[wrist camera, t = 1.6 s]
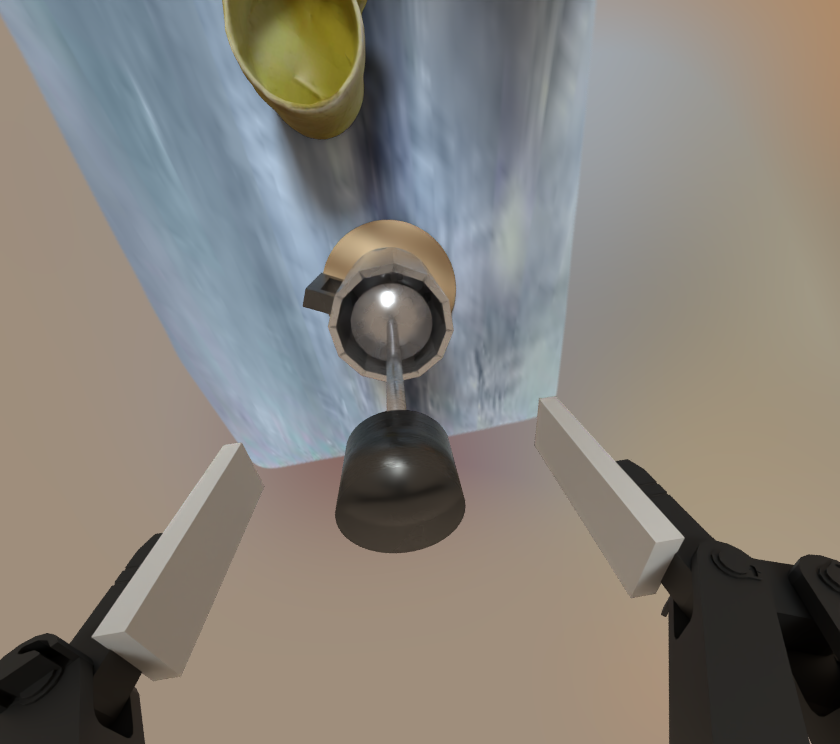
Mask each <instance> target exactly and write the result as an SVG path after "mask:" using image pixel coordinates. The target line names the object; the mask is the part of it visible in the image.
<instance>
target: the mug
mask: <svg viewBox="0 0 840 744" xmlns="http://www.w3.org/2000/svg"><path fill="white" fill-rule="evenodd" d="M366 2H367V0H222V3H223V10H224V19H225V31H226V34H227V38H228V41H229V44H230V46H231V49H232V51H233V53H234V56H235V58H236V59H237V61H238V63H239V65H240V67H241V69H242V71H243V73H244V75H245V76H246V78H247V79H248V80H249V82H250V83H251V84H252V85H253V87H254V89H255V90H256V92H257V93H258V94H259V96H260V97H261V98H262V99H263V100H264V101H265V102H266V103H267V104H268V105H269V106H270V107H272V108H273V109H274V110H275V111H276V112H277V113H278V114H279V116H280V117H281V118H282V119H283V120H284V121H285V122H286V123H287V124H288V125H289V126H290V127H292V128H293V129H294V130H296V131H297V132H299V133H300V134H302V135H304V136H306V137H310V138H314V139H329V138H332V137H335V136H338V135H339V134H341V133H343V132H344V131H345V130H346V129H347V128H349V126H350V125H351V124H352V123H353V121H354V120H355V118H356V117H357V115H358V113H359V110H360V108H361V105H362V101H363V96H364V81H363V74H364V68H365V34H364V25H363V20H362V11H363V9H364V7H365V5H366Z"/></svg>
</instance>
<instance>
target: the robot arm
mask: <svg viewBox="0 0 840 744" xmlns="http://www.w3.org/2000/svg"><path fill="white" fill-rule="evenodd" d="M535 447H536V449H537V450H538V452H539V453H540V455H541V456H542V458H543V459H544V461H545V463H546V464H547V466H548V468H549V469H550V471H551V472H552V474H553V475H554V477H555V479H556V480H557V482H558V483H559V485H560V486H561V488H562V490H563V491H564V493H565V495H566V496H567V498H568V499H569V501H570V502H571V504H572V506H573V507H574V509H575V510H576V512H577V513H578V515H579V517H580V518H581V520H582V521H583V523H584V525H585V526H586V528H587V529H588V531H589V533H590V534H591V536H592V537H593V539H594V541H595V542H596V544H597V545H598V547H599V549H600V550H601V552H602V553H603V555H604V556H605V558H606V560H607V561H608V562H609V564H610V566H611V568H612V569H613V571H614V572H615V574H616V575H617V577H618V579H619V580H620V582H621V583H622V585H623V587H624V588H625V590H626V591H627V593H628V594H629V596H630V598H635V597H640V596H646V595H652V594H656V592H657V590H658V588H659V586H660V584H661V583H662V584H663V586H664V587H665V588H666V590H667V591H668V592H669V594H670V597H669V598H668V600H667V602H666V604H665V605H664V607H663V610H662V613H661V615H663V616H665V617H666V616H667V614H668V612H669V744H810V743H809V739H810V741H811V743H812V744H840V562H838V561H837V560H833V559H830V558H827V557H824V556H821V555H806V556H803V557H801V558H800V559H799V560H798V561H797V562H796V563H795V565H790V564H784V563H777V562H771V561H765V560H758V559H753V558H751V557H749V556H748V555H747V554H746V553H744V552H743V551H741V550H739V549H738V548H736V547H733V546H731V545H729V544H727V543H723V542H719V541H716V540H715V539H714V538H712V537H711V536H710V535H709V534H708V533H707V532H706V531H705V530H704V529H703V528H702V527H701V526H700V525H699V524H698V523H697V522H696V521H695V520H694V519H693V518H692V517H691V516H690V515H689V514H688V513H687V512H686V511H685V510H684V509H683V508H682V507H681V506H680V505H679V504H678V503H677V502H676V501H675V500H674V499H673V498H672V497H671V496H670V495H668V494H667V492H666V491H665V490H664V489H663V488H662V487H661V486H660V485H659V484H657V483H656V481H655V480H654V479H653V478H652V477H651V476H650V475H649V474H648V473H647V472H646V471H645V470H644V469H643V468H641V467H639V466H638V465H636V464H635V463H633V462H631V461H630V460H628V459H627V460H620V461H614V459H612V457H611V456H610V455H609V454H608V453H607V452H606V451H605V450H604V449H603V447H602V446H601V445H600V444H599V443H598V442H597V441H596V440H595V439H594V438H593V437H592V435H591V434H590V433H589V432H588V431H587V430H586V429H585V428H584V427H583V425H582V424H581V423H580V422H579V421H578V420H577V419H576V418H575V417H574V416H573V415H572V413H571V412H570V411H569V410H568V409H567V408H566V407H565V406H564V405H563V404H562V402H561V401H560V400H559V399H558V398H557V397H556V396H554V397H547V398H540V399H539V405H538V415H537V425H536V434H535ZM263 488H264V485H263V483H262V481H261V479H260V477H259V475H258V473H257V471H256V469H255V467H254V465H253V463H252V461H251V459H250V458H249V456H248V454H247V452H246V450H245V448H244V446H243V444H242V443H235V444H228V445H223V447H222V449H221V450H220V451H219V453H218V454H217V456H216V457H215V458H214V460H213V462H212V463H211V464H210V466H209V467H208V469H207V470H206V472H205V473H204V474H203V476H202V477H201V479H200V480H199V482H198V483H197V485H196V486H195V487H194V489H193V490H192V492H191V493H190V495H189V496H188V498H187V499H186V501H185V502H184V503H183V505H182V506H181V508H180V509H179V511H178V512H177V514H176V515H175V517H174V518H173V520H172V521H171V522H170V524H169V525H168V527H167V528H166V530H165V531H164V533H159V534H155V535H154V536H153V537H151V538H150V539H149V540H148V541H147V542H146V543H145V544H144V545H143V546H142V547H141V548H140V549H139V550H138V551H137V552H136V553H135V555H134V556H133V558H132V559H131V560H130V562H129V563H128V564H127V566H126V569H125V571H122V573H121V574H120V575H119V577H118V578H117V580H116V581H115V585H114V586H111V588H110V589H109V591H108V592H107V593H106V595H105V596H104V597H103V599H102V600H101V601H100V603H99V604H98V606H97V607H96V608H95V610H94V611H93V613H92V614H91V615H90V617H89V618H88V619H87V621H86V622H85V623H84V625H83V626H82V628H81V629H80V630H79V632H78V633H77V635H76V636H75V637H74V639H73V640H72V641H71V643H70V644H68V643H66V642H65V641H64V640H62V639H60V638H59V637H57V636H56V635H53V634H49V633H46V634H43V635H39V636H35V637H33V638H32V639H30V640H28V641H26V642H24V643H22V644H21V645H19V646H18V647H16V648H15V649H14V650H12V651H11V652H10V653H8V654H7V655H5V656H4V657H3V658H2V659H1V660H0V744H145V740H144V732H143V724H142V715H141V706H140V698H139V693H138V691H137V689H136V688H135V684H136V683H137V681H138V679H139V677H140V675H141V673H143V674H144V675H145V676H147V677H148V678H150V679H151V680H152V681H157V680H162V679H168V678H174V677H180V676H181V675H182V673H183V671H184V668H185V666H186V663H187V662H188V659H189V657H190V655H191V652H192V650H193V648H194V646H195V643H196V641H197V639H198V637H199V634H200V632H201V630H202V627H203V625H204V623H205V621H206V618H207V616H208V614H209V611H210V609H211V607H212V605H213V602H214V600H215V598H216V596H217V593H218V591H219V589H220V586H221V584H222V582H223V580H224V577H225V575H226V573H227V571H228V568H229V566H230V564H231V561H232V559H233V557H234V555H235V552H236V550H237V548H238V546H239V543H240V541H241V538H242V536H243V534H244V532H245V529H246V527H247V525H248V523H249V521H250V518H251V516H252V514H253V511H254V509H255V507H256V505H257V502H258V500H259V498H260V495H261V493H262V491H263ZM808 737H809V739H808Z"/></svg>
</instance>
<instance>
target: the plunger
mask: <svg viewBox="0 0 840 744" xmlns="http://www.w3.org/2000/svg"><path fill="white" fill-rule="evenodd" d="M351 329H352V333H353V335H354V338H355V340H356V342H357V343H358V344H359V346H360V347H361V348H362V349H363V350H364V351H365V352H366V353H368V354H369V355H371V356H373V357H375V358H378V359H381V360H385V361H387V411H385V412H382V413H378V414H376V415H373V416H371V417H369V418H367V419H366V420H364V421H363V422H362V423H360V424H359V425H358V426H357V427H356V428H355V429H354V430H353V432H352V433H351V435H350V437H349V439H348V441H347V445H346V451H345V457H344V464H343V469H342V475H341V482H340V487H339V494H338V499H337V505H336V511H335V518H336V523H337V525H338V528H339V529H340V531H341V532H342V533H343V535H344V536H345V537H346V538H347V539H349V540H350V541H351V542H353V543H355V544H356V545H358V546H360V547H362V548H365V549H368V550H372V551H376V552H383V553H405V552H411V551H416V550H420V549H423V548H426V547H429V546H432V545H434V544H436V543H438V542H440V541H441V540H443V539H445V538H446V537H447V536H449V535H450V534H451V533H452V532H453V531H454V530H455V529H456V528H457V527H458V525H459V524H460V522H461V520H462V518H463V516H464V513H465V499H464V495H463V492H462V488H461V484H460V481H459V477H458V473H457V469H456V466H455V462H454V458H453V454H452V451H451V448H450V443H449V440H448V436H447V434H446V432H445V430H444V429H443V427H442V426H441V425H440V424H439V423H438V422H437V421H435V420H434V419H432V418H431V417H429V416H427V415H425V414H422V413H419V412H416V411H410V410H406V403H405V393H404V383H403V373H402V363H401V360H403V359H406V358H409V357H411V356H413V355H414V354H416V353H417V352H419V351H420V350H421V349H422V348H423V346H424V345H425V344H426V342H427V341H428V339H429V336H430V334H431V330H432V316H431V312H430V309H429V307H428V304H427V302H426V301H425V299H424V298H423V296H422V295H421V294H420V293H419V292H418V291H416V290H415V289H414V288H412V287H410V286H408V285H406V284H403V283H399V282H383V283H379V284H376V285H374V286H372V287H370V288H368V289H367V290H366V291H365V292H363V293H362V294H361V296H360V297H359V298H358V300H357V301H356V303H355V305H354V308H353V311H352V316H351Z"/></svg>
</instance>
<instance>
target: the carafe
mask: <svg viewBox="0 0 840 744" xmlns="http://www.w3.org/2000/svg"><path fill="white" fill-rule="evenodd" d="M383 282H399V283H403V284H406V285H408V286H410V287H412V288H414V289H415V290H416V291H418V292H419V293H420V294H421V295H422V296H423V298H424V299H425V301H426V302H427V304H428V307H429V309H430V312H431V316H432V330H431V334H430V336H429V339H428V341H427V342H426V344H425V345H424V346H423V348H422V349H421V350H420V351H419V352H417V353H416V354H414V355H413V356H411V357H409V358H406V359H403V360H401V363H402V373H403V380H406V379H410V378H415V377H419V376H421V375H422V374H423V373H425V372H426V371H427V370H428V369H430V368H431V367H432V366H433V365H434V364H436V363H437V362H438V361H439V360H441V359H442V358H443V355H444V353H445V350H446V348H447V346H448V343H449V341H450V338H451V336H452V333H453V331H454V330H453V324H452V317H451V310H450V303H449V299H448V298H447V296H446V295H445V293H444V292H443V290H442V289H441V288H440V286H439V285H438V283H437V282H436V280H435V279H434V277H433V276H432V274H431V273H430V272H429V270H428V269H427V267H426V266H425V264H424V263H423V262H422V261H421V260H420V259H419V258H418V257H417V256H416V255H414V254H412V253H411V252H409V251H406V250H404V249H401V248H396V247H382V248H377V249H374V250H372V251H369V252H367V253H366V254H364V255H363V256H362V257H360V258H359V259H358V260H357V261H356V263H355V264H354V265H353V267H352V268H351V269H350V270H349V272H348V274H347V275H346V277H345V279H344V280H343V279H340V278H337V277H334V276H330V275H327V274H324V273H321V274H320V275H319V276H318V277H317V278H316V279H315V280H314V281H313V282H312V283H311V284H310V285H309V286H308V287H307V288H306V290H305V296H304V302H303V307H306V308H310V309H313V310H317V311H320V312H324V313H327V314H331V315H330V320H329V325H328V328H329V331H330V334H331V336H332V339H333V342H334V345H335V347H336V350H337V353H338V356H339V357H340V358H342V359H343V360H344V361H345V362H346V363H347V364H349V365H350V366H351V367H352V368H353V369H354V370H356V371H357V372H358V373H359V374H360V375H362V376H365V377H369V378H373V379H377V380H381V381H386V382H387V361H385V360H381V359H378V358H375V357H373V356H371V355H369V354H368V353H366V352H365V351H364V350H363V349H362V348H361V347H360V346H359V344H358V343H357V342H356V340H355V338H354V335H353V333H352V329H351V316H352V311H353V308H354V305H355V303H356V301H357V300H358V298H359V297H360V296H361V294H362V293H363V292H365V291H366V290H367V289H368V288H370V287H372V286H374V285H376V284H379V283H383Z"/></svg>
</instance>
